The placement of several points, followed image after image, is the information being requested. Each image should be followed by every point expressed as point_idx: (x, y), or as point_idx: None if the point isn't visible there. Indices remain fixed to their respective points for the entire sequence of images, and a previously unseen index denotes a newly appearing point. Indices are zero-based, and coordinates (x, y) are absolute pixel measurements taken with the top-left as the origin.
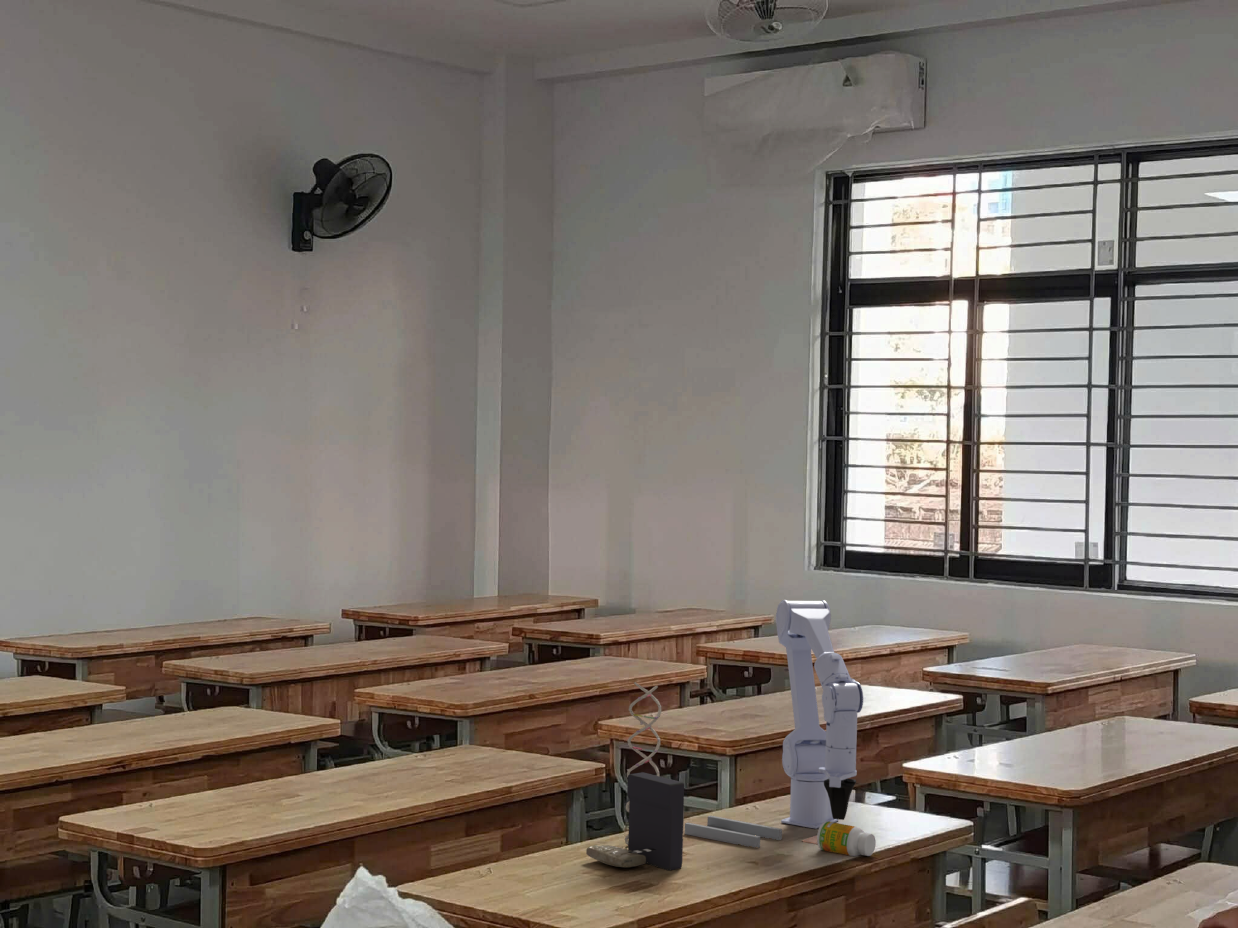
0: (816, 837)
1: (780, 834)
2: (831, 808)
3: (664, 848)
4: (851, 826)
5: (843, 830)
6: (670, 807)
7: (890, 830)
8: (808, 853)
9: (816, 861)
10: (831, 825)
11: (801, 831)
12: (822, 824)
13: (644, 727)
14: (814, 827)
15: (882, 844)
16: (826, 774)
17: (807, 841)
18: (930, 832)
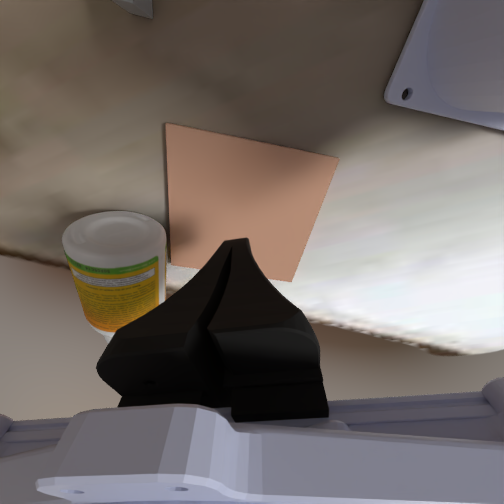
0: (237, 155)
1: (131, 8)
2: (209, 259)
3: None
4: (106, 325)
5: (83, 307)
6: None
7: (415, 279)
8: (73, 188)
9: (29, 228)
10: (79, 280)
11: (330, 51)
12: (70, 253)
13: None
14: (386, 92)
15: None
16: (25, 463)
17: (167, 147)
18: (411, 330)
